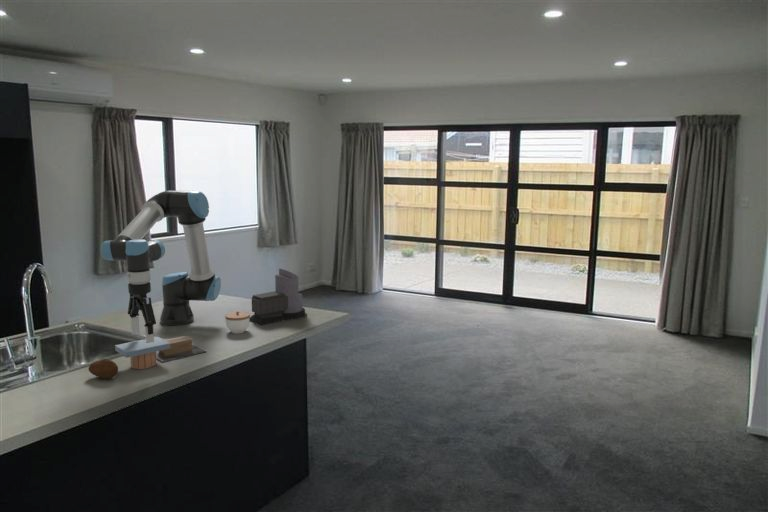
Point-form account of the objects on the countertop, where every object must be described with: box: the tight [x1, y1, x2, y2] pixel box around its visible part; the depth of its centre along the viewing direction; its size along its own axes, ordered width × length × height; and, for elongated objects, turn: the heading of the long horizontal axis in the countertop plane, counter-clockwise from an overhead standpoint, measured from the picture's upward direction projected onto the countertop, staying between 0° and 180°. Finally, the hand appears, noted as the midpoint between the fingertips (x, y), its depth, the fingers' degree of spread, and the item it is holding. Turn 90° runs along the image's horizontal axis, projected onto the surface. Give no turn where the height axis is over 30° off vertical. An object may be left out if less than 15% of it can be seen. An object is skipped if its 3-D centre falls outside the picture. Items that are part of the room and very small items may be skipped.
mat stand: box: [156, 335, 207, 363], centre depth 227 cm, size 16×18×5 cm
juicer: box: [250, 268, 308, 326], centre depth 279 cm, size 30×16×24 cm, turn 136°
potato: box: [88, 358, 119, 380], centre depth 199 cm, size 7×12×7 cm, turn 77°
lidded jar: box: [224, 310, 251, 334], centre depth 255 cm, size 11×11×9 cm
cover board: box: [114, 336, 170, 359], centre depth 212 cm, size 11×16×2 cm
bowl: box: [130, 352, 157, 370], centre depth 212 cm, size 8×8×6 cm
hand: (142, 338), depth 211 cm, fingers open, 13 cm apart
